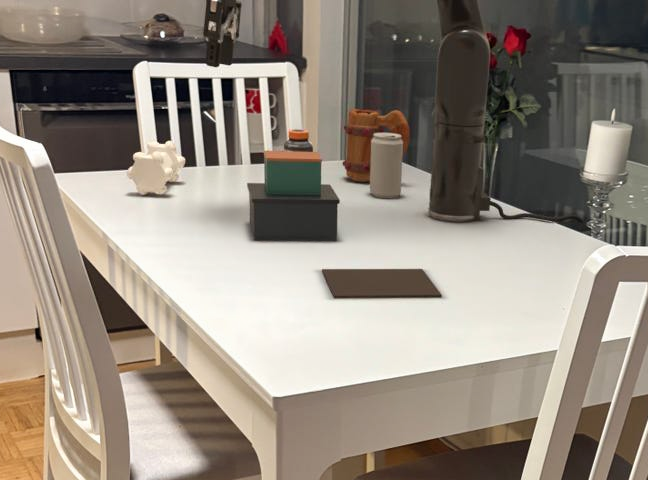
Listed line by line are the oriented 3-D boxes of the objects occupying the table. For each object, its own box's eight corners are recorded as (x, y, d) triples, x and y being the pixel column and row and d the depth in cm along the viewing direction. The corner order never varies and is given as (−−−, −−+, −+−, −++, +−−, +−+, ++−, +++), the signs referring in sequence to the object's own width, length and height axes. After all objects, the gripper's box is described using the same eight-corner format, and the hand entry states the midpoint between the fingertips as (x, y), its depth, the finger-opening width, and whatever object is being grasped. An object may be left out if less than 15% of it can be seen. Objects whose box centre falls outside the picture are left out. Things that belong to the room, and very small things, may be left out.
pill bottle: (315, 185, 203) (316, 129, 198) (310, 191, 198) (310, 133, 192) (287, 183, 203) (287, 126, 198) (281, 189, 198) (280, 131, 193)
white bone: (172, 198, 185) (169, 154, 181) (126, 195, 185) (122, 151, 181) (187, 181, 198) (185, 140, 194) (144, 179, 198) (141, 137, 194)
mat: (422, 271, 154) (422, 268, 154) (441, 297, 143) (441, 294, 143) (321, 271, 150) (321, 269, 150) (333, 298, 139) (333, 295, 139)
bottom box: (329, 223, 176) (330, 184, 173) (338, 240, 167) (339, 199, 163) (248, 223, 173) (247, 182, 170) (252, 240, 163) (251, 198, 160)
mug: (335, 180, 209) (336, 106, 202) (349, 174, 216) (351, 102, 208) (399, 189, 205) (402, 114, 198) (411, 182, 212) (415, 110, 205)
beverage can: (382, 200, 195) (384, 138, 190) (363, 193, 200) (365, 132, 194) (406, 197, 199) (410, 136, 193) (387, 190, 203) (390, 130, 198)
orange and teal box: (317, 187, 170) (317, 151, 167) (321, 195, 165) (322, 159, 162) (263, 186, 168) (263, 150, 165) (266, 194, 163) (266, 157, 160)
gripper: (240, -37, 154) (230, 72, 162) (260, -32, 167) (249, 68, 174) (193, -47, 154) (185, 62, 161) (217, -42, 167) (208, 59, 174)
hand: (218, 65), depth 168 cm, fingers open, 8 cm apart
